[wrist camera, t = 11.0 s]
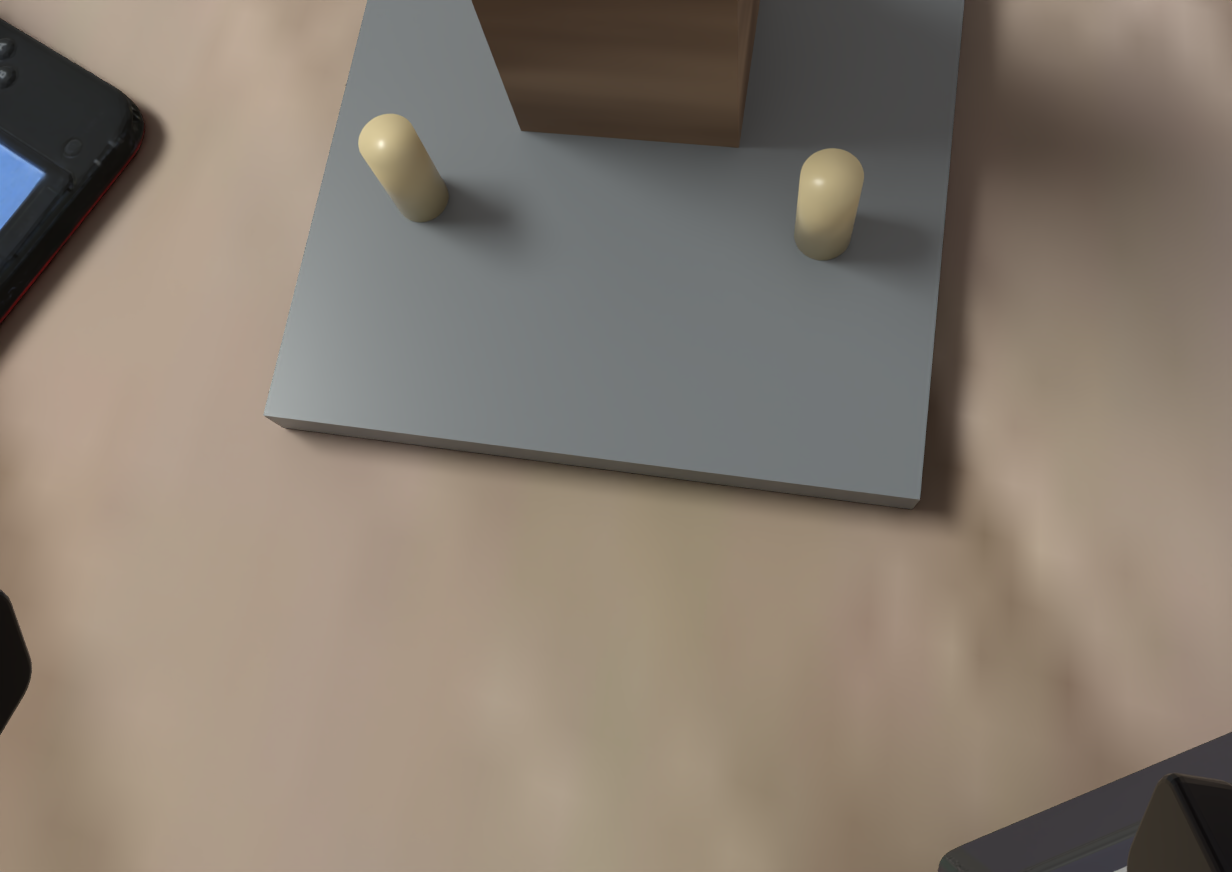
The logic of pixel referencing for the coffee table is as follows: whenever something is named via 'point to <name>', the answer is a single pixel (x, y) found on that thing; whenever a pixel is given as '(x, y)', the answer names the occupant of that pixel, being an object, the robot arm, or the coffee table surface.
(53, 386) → the coffee table surface
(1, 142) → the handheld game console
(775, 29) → the plate
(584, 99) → the walnut block
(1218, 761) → the grey and red box
